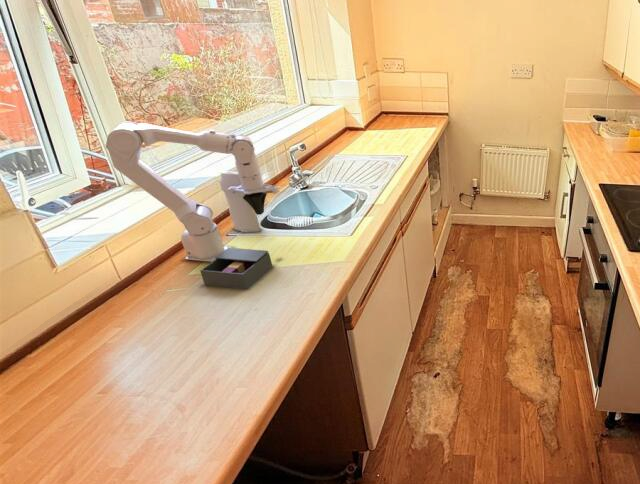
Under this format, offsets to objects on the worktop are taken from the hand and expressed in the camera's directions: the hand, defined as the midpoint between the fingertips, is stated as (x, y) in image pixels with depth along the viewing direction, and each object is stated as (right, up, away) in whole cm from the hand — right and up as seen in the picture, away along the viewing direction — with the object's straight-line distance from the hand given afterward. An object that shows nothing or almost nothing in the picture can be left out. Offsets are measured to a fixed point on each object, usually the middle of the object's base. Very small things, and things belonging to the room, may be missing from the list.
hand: (260, 213), depth 130 cm
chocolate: (+3, -17, -14) cm, 23 cm away
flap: (+3, -12, -13) cm, 18 cm away
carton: (+3, -18, -13) cm, 22 cm away
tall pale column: (-11, -7, +11) cm, 17 cm away
